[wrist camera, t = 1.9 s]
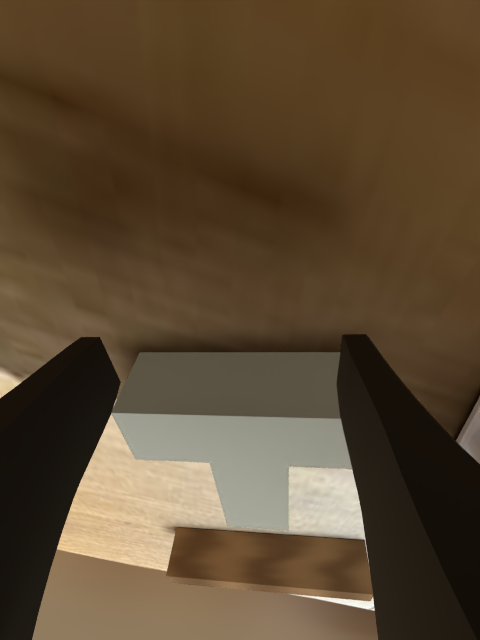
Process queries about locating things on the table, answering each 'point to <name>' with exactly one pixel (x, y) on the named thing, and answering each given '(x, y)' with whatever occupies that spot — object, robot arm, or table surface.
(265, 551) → the bar
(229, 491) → the T block
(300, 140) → the table surface
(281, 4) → the table surface
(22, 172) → the table surface
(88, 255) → the table surface
